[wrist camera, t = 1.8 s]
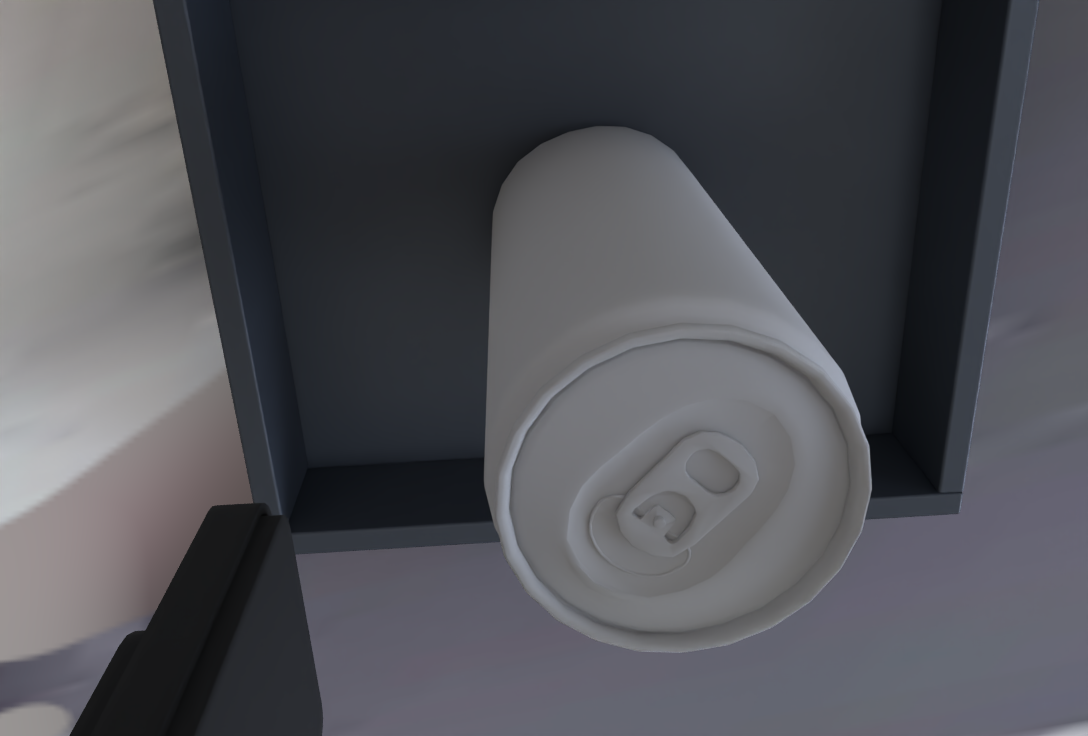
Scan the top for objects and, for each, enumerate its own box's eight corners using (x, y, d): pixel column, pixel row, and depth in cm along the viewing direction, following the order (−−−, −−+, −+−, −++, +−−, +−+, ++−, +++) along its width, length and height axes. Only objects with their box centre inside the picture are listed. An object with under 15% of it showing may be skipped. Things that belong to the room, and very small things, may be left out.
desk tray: (193, -72, 20) (137, -71, 17) (974, -111, 20) (1059, -118, 17) (291, 481, 26) (263, 557, 22) (906, 443, 26) (960, 514, 23)
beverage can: (448, 233, 23) (398, 525, 12) (589, 71, 21) (683, 227, 10) (601, 358, 24) (684, 720, 13) (742, 212, 23) (966, 483, 12)
